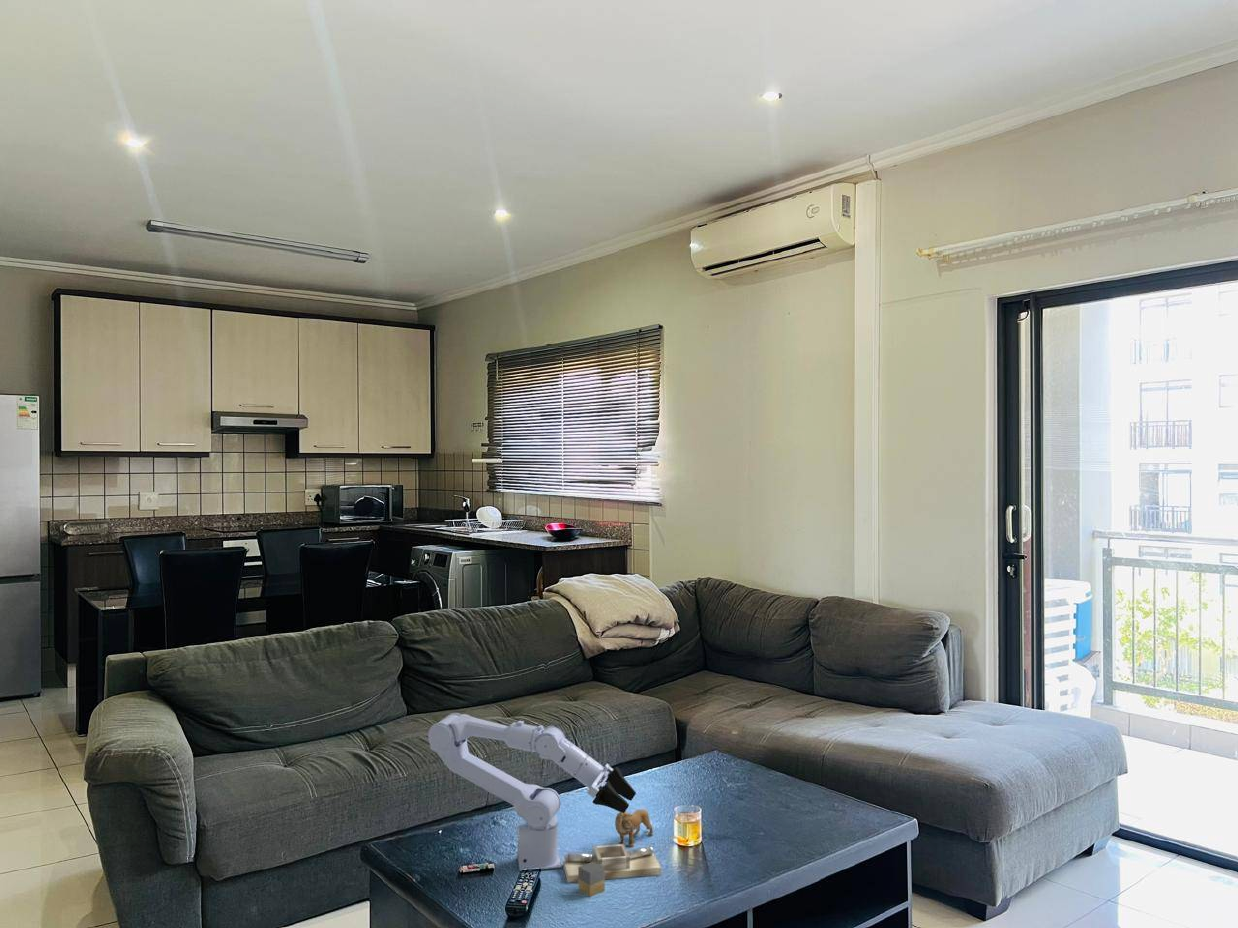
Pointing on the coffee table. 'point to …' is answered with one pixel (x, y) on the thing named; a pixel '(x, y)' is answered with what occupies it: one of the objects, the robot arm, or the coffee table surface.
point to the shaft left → (578, 857)
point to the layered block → (591, 879)
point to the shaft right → (641, 852)
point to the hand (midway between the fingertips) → (630, 802)
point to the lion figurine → (632, 824)
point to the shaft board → (615, 863)
